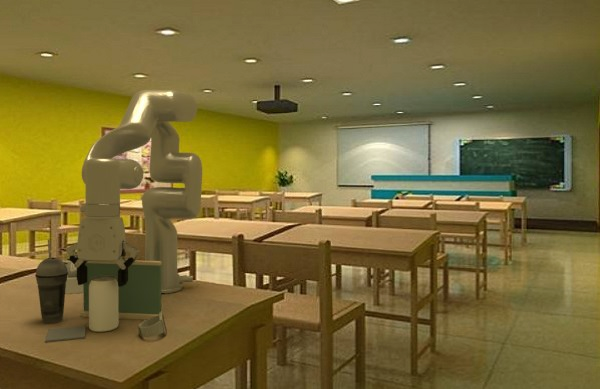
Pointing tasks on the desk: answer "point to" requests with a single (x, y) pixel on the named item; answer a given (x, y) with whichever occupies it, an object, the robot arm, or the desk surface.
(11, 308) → the desk surface
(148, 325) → the wristwatch
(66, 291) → the tool caddy
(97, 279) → the can
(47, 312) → the beverage cup
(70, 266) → the voltmeter
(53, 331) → the grey mat
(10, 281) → the desk surface
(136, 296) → the chalkboard panel
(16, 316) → the desk surface
